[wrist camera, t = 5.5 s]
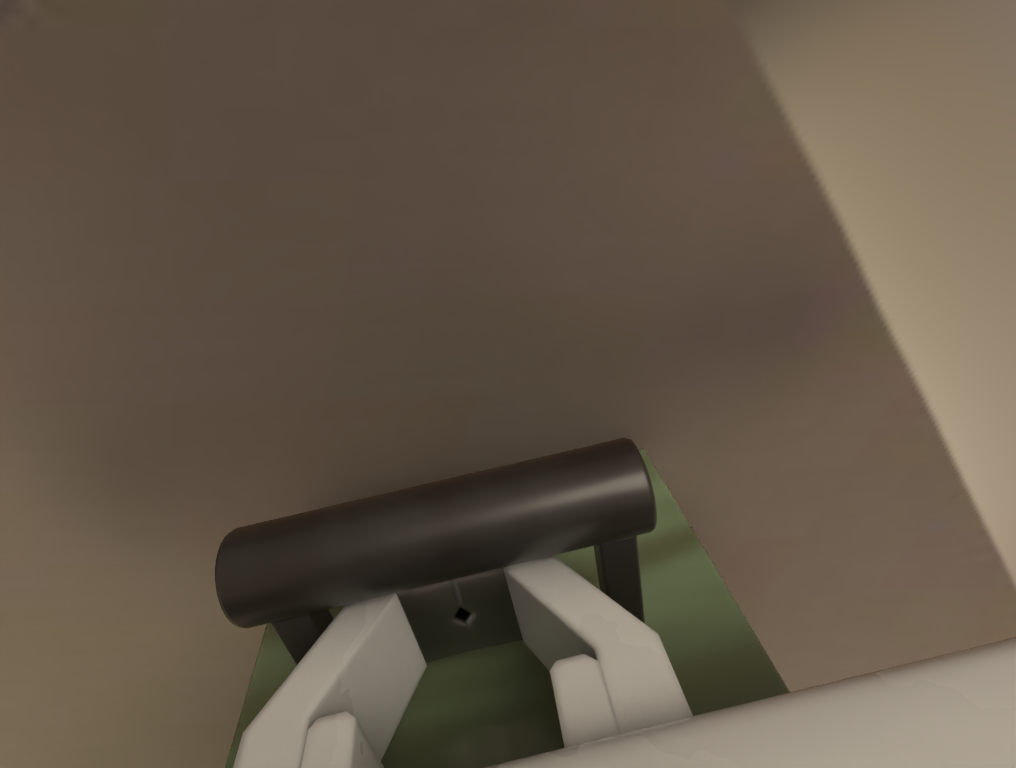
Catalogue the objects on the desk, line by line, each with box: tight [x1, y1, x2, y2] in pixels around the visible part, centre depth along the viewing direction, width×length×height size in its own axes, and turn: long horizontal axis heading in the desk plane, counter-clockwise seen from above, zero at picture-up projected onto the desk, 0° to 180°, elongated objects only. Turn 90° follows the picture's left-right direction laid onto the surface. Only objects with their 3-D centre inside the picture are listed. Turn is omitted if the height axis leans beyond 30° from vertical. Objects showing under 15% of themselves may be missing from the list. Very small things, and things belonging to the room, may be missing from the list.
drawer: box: [215, 438, 790, 768], centre depth 13 cm, size 17×9×8 cm, turn 11°
